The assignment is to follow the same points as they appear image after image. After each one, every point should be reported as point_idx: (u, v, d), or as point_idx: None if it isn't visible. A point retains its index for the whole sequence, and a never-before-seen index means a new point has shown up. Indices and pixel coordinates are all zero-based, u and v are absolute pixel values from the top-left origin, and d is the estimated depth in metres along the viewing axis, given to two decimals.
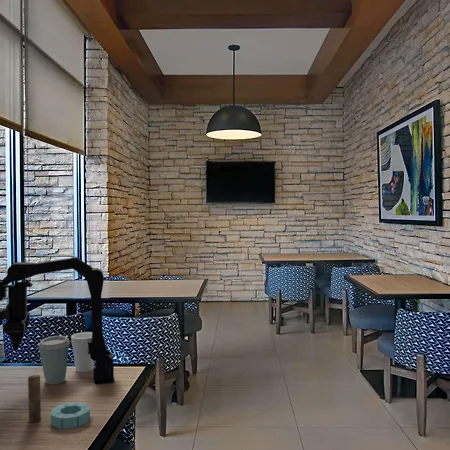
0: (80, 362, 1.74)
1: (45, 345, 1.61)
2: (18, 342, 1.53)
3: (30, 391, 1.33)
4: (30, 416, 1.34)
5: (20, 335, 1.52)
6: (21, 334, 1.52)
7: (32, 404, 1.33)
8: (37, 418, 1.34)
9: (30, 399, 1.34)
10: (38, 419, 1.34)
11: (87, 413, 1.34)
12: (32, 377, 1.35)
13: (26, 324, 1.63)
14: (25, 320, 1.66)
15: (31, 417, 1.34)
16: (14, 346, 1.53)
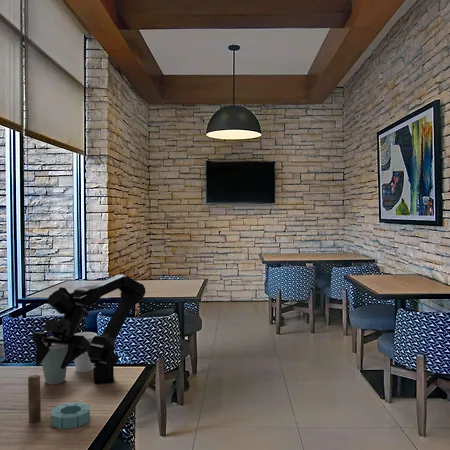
0: (80, 362, 1.74)
1: None
2: (70, 361, 1.43)
3: (30, 391, 1.33)
4: (30, 416, 1.34)
5: (76, 355, 1.45)
6: (77, 355, 1.45)
7: (32, 404, 1.33)
8: (37, 418, 1.34)
9: (30, 399, 1.34)
10: (38, 419, 1.34)
11: (87, 413, 1.34)
12: (32, 377, 1.35)
13: (48, 350, 1.49)
14: None
15: (31, 417, 1.34)
16: (65, 363, 1.42)
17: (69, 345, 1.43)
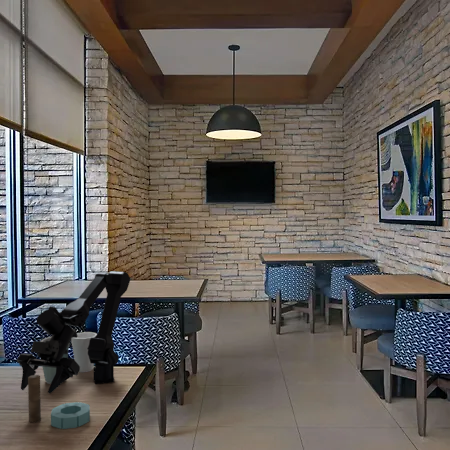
0: (80, 362, 1.74)
1: None
2: (57, 385, 1.36)
3: (30, 390, 1.33)
4: (30, 416, 1.34)
5: (64, 379, 1.38)
6: (66, 378, 1.39)
7: (32, 404, 1.33)
8: (37, 418, 1.34)
9: (30, 399, 1.34)
10: (38, 419, 1.34)
11: (87, 413, 1.34)
12: (31, 377, 1.35)
13: (34, 373, 1.42)
14: None
15: (31, 417, 1.34)
16: (52, 388, 1.35)
17: (57, 368, 1.36)
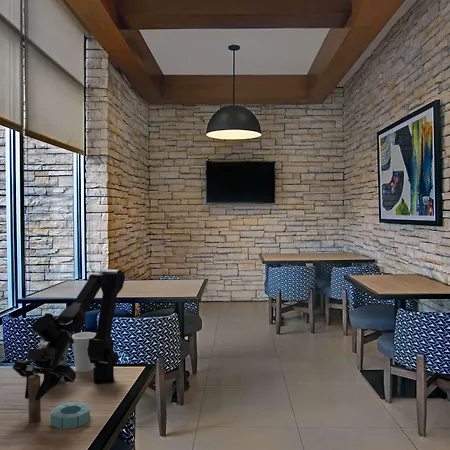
0: (80, 362, 1.74)
1: (45, 345, 1.61)
2: (45, 392, 1.35)
3: (30, 391, 1.33)
4: (30, 416, 1.34)
5: (52, 385, 1.37)
6: (54, 385, 1.38)
7: (32, 404, 1.33)
8: (37, 418, 1.34)
9: (30, 399, 1.34)
10: (38, 419, 1.34)
11: (87, 413, 1.34)
12: (32, 377, 1.35)
13: None
14: None
15: (31, 417, 1.34)
16: (40, 394, 1.34)
17: (45, 374, 1.35)
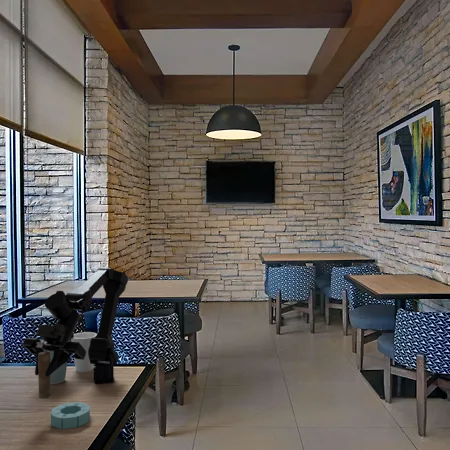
0: (80, 362, 1.74)
1: None
2: (55, 368, 1.35)
3: (40, 367, 1.33)
4: (40, 392, 1.34)
5: (62, 362, 1.37)
6: (63, 361, 1.37)
7: (42, 381, 1.33)
8: (47, 394, 1.34)
9: (40, 375, 1.33)
10: (48, 395, 1.34)
11: (87, 413, 1.34)
12: (41, 353, 1.35)
13: None
14: None
15: (41, 393, 1.33)
16: (50, 371, 1.34)
17: (55, 351, 1.35)
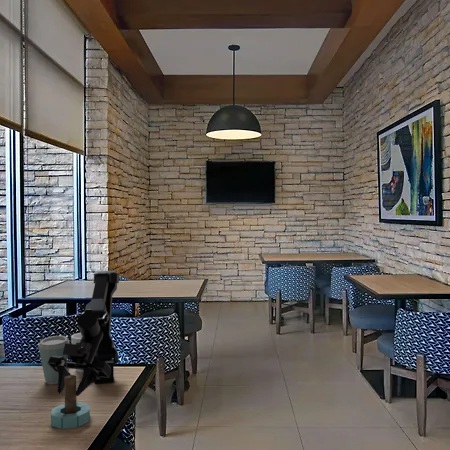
0: None
1: (45, 345, 1.61)
2: (85, 387, 1.35)
3: (67, 391, 1.33)
4: None
5: (91, 381, 1.37)
6: (92, 380, 1.37)
7: (69, 405, 1.33)
8: None
9: (66, 399, 1.33)
10: None
11: (87, 413, 1.34)
12: (68, 377, 1.35)
13: None
14: None
15: None
16: (80, 390, 1.33)
17: (84, 370, 1.35)
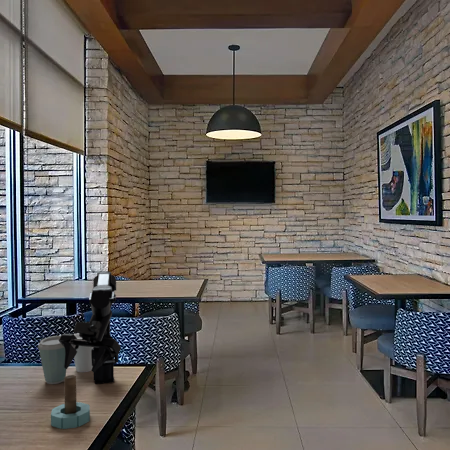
0: (80, 362, 1.74)
1: (45, 345, 1.61)
2: (100, 364, 1.40)
3: (67, 391, 1.33)
4: None
5: (106, 358, 1.42)
6: (107, 357, 1.42)
7: (69, 405, 1.33)
8: None
9: (66, 399, 1.33)
10: None
11: (87, 413, 1.34)
12: (68, 377, 1.35)
13: (75, 352, 1.46)
14: None
15: None
16: (96, 366, 1.39)
17: (100, 348, 1.40)
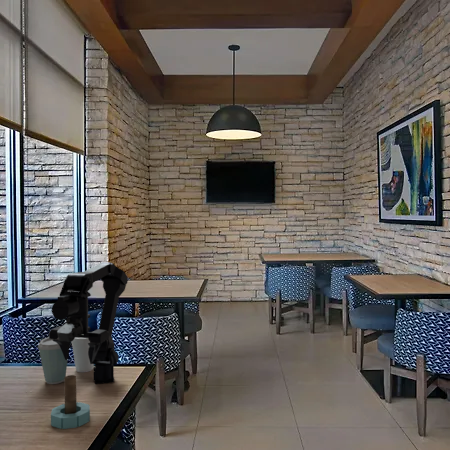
0: (80, 362, 1.74)
1: (45, 345, 1.61)
2: (96, 352, 1.50)
3: (67, 391, 1.33)
4: None
5: (99, 344, 1.50)
6: (100, 343, 1.50)
7: (69, 405, 1.33)
8: None
9: (66, 399, 1.33)
10: None
11: (87, 413, 1.34)
12: (68, 377, 1.35)
13: None
14: None
15: None
16: (93, 358, 1.49)
17: (89, 344, 1.46)
